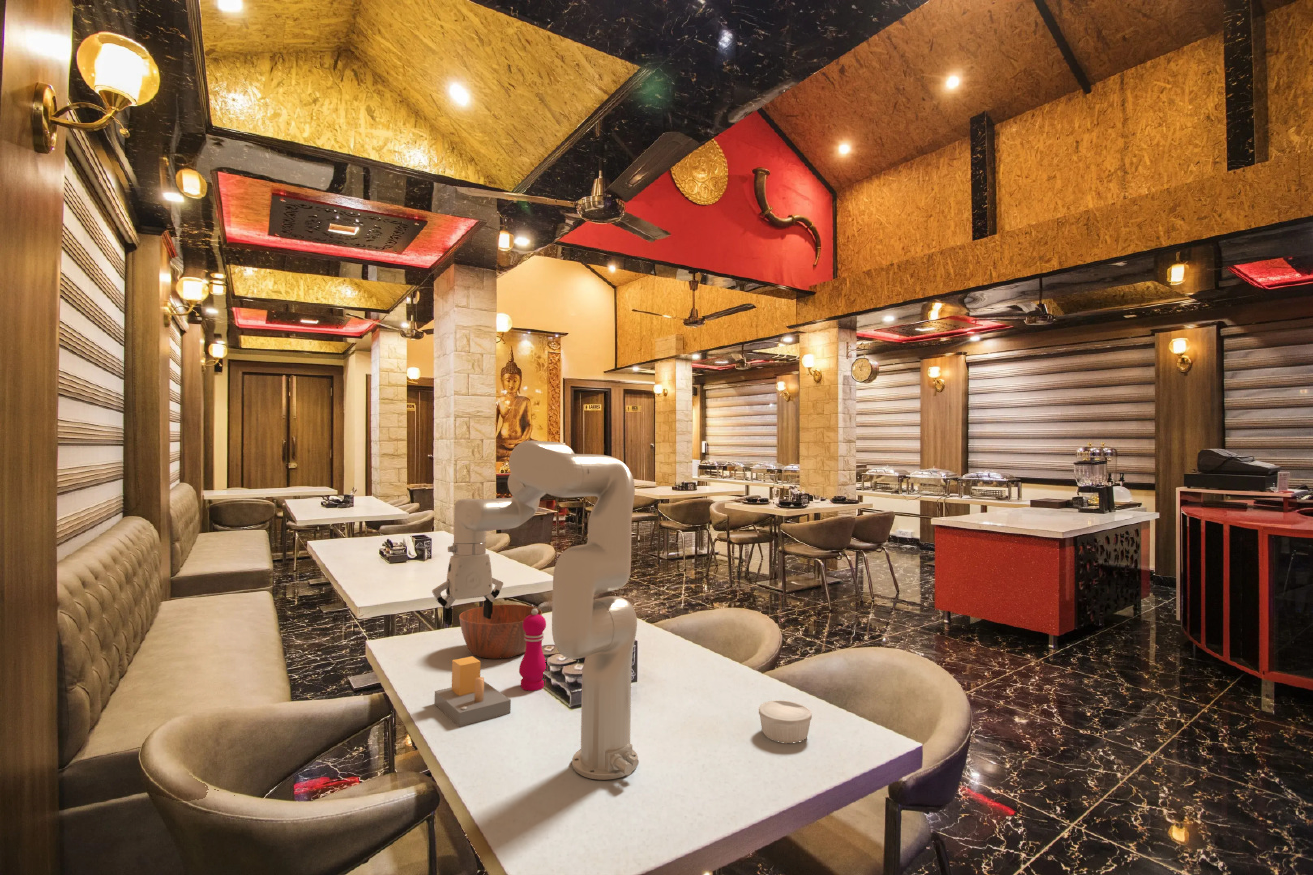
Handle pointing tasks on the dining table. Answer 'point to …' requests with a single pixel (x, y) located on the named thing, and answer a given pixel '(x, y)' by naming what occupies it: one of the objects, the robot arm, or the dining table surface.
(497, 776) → the dining table surface
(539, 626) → the pepper mill
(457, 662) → the upright wooden block
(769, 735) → the ramekin
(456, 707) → the peg board base
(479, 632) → the bowl
